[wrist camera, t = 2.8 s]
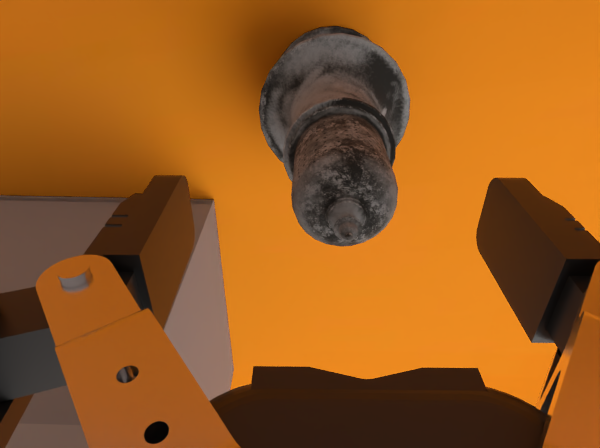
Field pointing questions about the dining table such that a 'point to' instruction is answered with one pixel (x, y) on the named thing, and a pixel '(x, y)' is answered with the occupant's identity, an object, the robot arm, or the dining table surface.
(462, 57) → the dining table surface
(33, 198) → the box
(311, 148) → the salt shaker
